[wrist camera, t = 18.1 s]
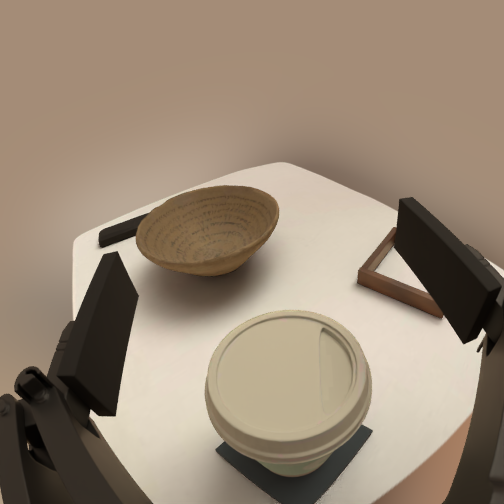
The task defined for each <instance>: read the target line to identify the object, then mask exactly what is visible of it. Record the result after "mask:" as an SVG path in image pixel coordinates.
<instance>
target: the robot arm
mask: <svg viewBox="0 0 504 504" xmlns="http://www.w3.org/2000/svg"><path fill="white" fill-rule="evenodd" d="M394 248H395V249H396V250H397V252H398V253H399V254H400V255H401V257H402V258H403V259H404V261H405V262H406V263H407V264H408V266H409V267H410V268H411V270H412V271H413V272H414V274H415V275H416V276H417V278H418V279H419V280H420V282H421V283H422V284H423V286H424V287H425V288H426V290H427V291H428V293H429V294H430V295H431V297H432V298H433V300H434V301H435V302H436V304H437V305H438V307H439V308H440V310H441V311H442V313H443V314H444V315H445V317H446V318H447V320H448V321H449V323H450V324H451V326H452V327H453V329H454V331H455V332H456V334H457V335H458V337H459V338H460V340H461V341H462V343H463V344H466V343H468V342H470V341H472V340H474V339H476V338H477V337H478V335H479V333H480V332H481V330H482V328H483V329H484V331H485V332H486V335H485V336H484V338H483V340H482V342H481V343H480V345H479V347H478V349H477V352H479V351H480V350H481V348H482V347H483V351H482V360H481V368H480V375H479V382H478V388H477V394H476V399H475V404H474V409H473V414H472V418H471V423H470V427H469V431H468V435H467V439H466V443H465V446H464V450H463V453H462V456H461V459H460V463H459V466H458V469H457V472H456V475H455V478H454V480H453V483H452V486H451V488H450V491H449V494H448V496H447V498H446V499H445V501H444V502H443V503H442V504H504V278H503V277H502V276H501V275H500V274H499V273H498V272H497V271H496V269H495V268H494V267H493V266H492V265H490V263H489V262H488V261H487V260H486V259H484V257H483V256H482V255H481V254H480V253H479V252H478V251H477V250H476V249H474V248H473V247H471V246H469V245H468V244H466V245H464V244H463V243H462V242H461V241H459V239H458V238H457V237H456V236H455V235H454V234H453V233H452V232H450V230H448V229H447V228H446V227H445V226H444V225H443V224H442V223H441V222H440V221H439V220H438V219H437V218H435V217H434V216H433V215H432V214H431V213H430V212H429V211H428V210H427V209H426V208H424V207H423V206H422V205H421V204H420V203H419V202H418V201H416V200H415V199H414V198H413V197H410V198H403V199H399V209H398V219H397V228H396V236H395V244H394ZM138 297H139V295H138V293H137V291H136V289H135V287H134V285H133V283H132V281H131V279H130V277H129V275H128V273H127V271H126V269H125V267H124V264H123V262H122V260H121V258H120V256H119V253H118V251H116V252H112V253H107V254H103V256H102V258H101V261H100V263H99V265H98V267H97V269H96V272H95V274H94V276H93V278H92V281H91V283H90V285H89V288H88V290H87V292H86V295H85V297H84V299H83V302H82V304H81V307H80V309H79V312H78V314H77V317H76V320H75V321H70V322H69V323H68V325H67V326H66V328H65V329H64V330H63V332H62V335H61V337H60V340H59V343H58V345H57V348H56V352H55V354H54V357H53V359H52V362H51V365H50V368H49V371H48V374H47V377H46V376H45V375H44V374H43V373H42V372H41V371H40V370H39V369H38V368H37V367H34V366H32V367H28V368H26V369H24V370H23V371H22V372H21V373H20V374H19V376H18V377H17V379H16V382H15V385H14V388H15V392H16V393H17V394H18V395H19V396H20V397H22V399H21V400H16V399H15V398H14V397H13V396H12V395H10V394H4V395H3V396H1V397H0V488H1V493H2V499H3V503H4V504H153V503H152V502H151V500H150V499H149V498H148V497H147V496H146V494H145V493H144V492H143V491H142V490H141V488H140V487H139V486H138V485H137V483H136V482H135V481H134V479H133V478H132V477H131V476H130V474H129V473H128V472H127V470H126V469H125V468H124V466H123V465H122V463H121V462H120V461H119V459H118V458H117V456H116V455H115V454H114V452H113V451H112V449H111V448H110V446H109V445H108V443H107V442H106V440H105V439H104V437H103V435H102V434H101V432H100V431H99V429H98V428H97V426H96V424H95V423H94V421H93V420H92V419H91V418H90V417H89V415H90V409H91V410H92V411H94V412H95V413H96V414H97V415H98V416H116V410H117V403H118V397H119V390H120V384H121V378H122V373H123V367H124V362H125V356H126V351H127V346H128V341H129V337H130V332H131V327H132V323H133V318H134V314H135V310H136V305H137V301H138ZM27 443H28V444H29V450H28V447H27Z"/></svg>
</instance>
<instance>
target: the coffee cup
mask: <svg viewBox="0 0 504 504" xmlns="http://www.w3.org/2000/svg"><path fill="white" fill-rule="evenodd" d="M371 395H372V380H371V372H370V368H369V365H368V362H367V360H366V358H365V356H364V354H363V351H362V349H361V347H360V345H359V343H358V342H357V340H356V339H355V337H354V336H353V335H352V334H351V333H350V332H349V331H348V330H347V329H346V328H345V327H344V326H342V325H341V324H339V323H338V322H336V321H335V320H333V319H331V318H329V317H326V316H324V315H321V314H317V313H314V312H309V311H301V310H283V311H275V312H270V313H266V314H263V315H260V316H257V317H255V318H252V319H250V320H248V321H246V322H244V323H243V324H241V325H239V326H238V327H236V328H235V329H234V330H232V331H231V332H230V333H229V334H228V335H227V336H226V337H225V338H224V339H223V340H222V341H221V343H220V344H219V345H218V347H217V348H216V350H215V352H214V354H213V356H212V358H211V360H210V364H209V368H208V374H207V378H206V383H205V401H206V406H207V411H208V415H209V418H210V420H211V422H212V424H213V426H214V428H215V430H216V431H217V433H218V434H219V435H220V436H221V438H222V439H223V440H224V441H225V442H226V443H227V444H228V445H230V446H231V447H232V448H233V449H235V450H236V451H238V452H240V453H241V454H243V455H245V456H247V457H250V458H252V459H255V460H257V461H258V462H259V463H260V464H262V465H263V466H264V467H266V468H267V469H269V470H270V471H272V472H273V473H276V474H278V475H281V476H286V477H299V476H303V475H307V474H309V473H311V472H313V471H315V470H316V469H318V468H319V467H320V466H321V465H322V464H323V463H324V462H325V461H326V460H327V459H328V458H329V456H330V455H331V454H332V453H333V452H334V450H336V449H337V448H339V447H340V446H342V445H343V444H344V443H345V442H347V441H348V440H349V439H350V438H351V437H352V436H353V435H354V434H355V432H356V431H357V430H358V428H359V427H360V426H361V424H362V422H363V421H364V419H365V417H366V415H367V412H368V409H369V406H370V402H371Z"/></svg>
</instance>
